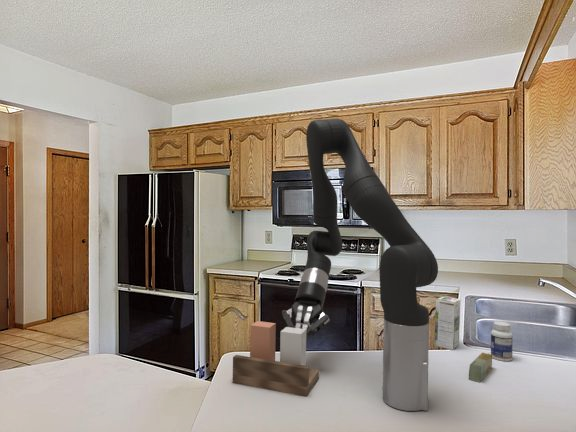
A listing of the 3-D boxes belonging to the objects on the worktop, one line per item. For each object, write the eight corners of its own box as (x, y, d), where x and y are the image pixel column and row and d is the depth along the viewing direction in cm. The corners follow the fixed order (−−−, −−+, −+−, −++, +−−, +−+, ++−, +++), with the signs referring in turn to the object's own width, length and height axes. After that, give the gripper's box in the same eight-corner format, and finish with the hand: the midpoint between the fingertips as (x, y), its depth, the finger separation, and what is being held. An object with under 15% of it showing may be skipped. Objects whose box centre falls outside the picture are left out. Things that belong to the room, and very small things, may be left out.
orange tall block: (275, 363, 96) (275, 323, 96) (268, 369, 92) (269, 327, 92) (256, 360, 98) (257, 321, 98) (249, 366, 94) (250, 325, 94)
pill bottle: (492, 353, 113) (492, 319, 113) (513, 357, 110) (514, 323, 110) (489, 358, 109) (489, 323, 109) (511, 363, 105) (511, 327, 105)
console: (318, 378, 93) (319, 353, 93) (306, 396, 84) (306, 368, 84) (251, 367, 100) (251, 343, 100) (232, 382, 90) (232, 356, 90)
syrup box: (440, 341, 123) (441, 295, 123) (459, 345, 119) (460, 298, 119) (433, 346, 118) (434, 298, 118) (454, 350, 115) (455, 301, 115)
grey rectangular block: (305, 371, 92) (306, 329, 92) (300, 378, 88) (301, 334, 88) (285, 368, 93) (286, 326, 93) (279, 374, 89) (280, 331, 89)
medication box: (480, 384, 93) (480, 367, 92) (468, 380, 94) (468, 364, 94) (491, 369, 102) (492, 354, 102) (480, 366, 103) (481, 351, 103)
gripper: (286, 278, 105) (267, 337, 93) (334, 282, 100) (321, 344, 89) (292, 294, 110) (275, 352, 98) (338, 298, 105) (326, 359, 94)
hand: (297, 348), depth 93 cm, fingers closed
